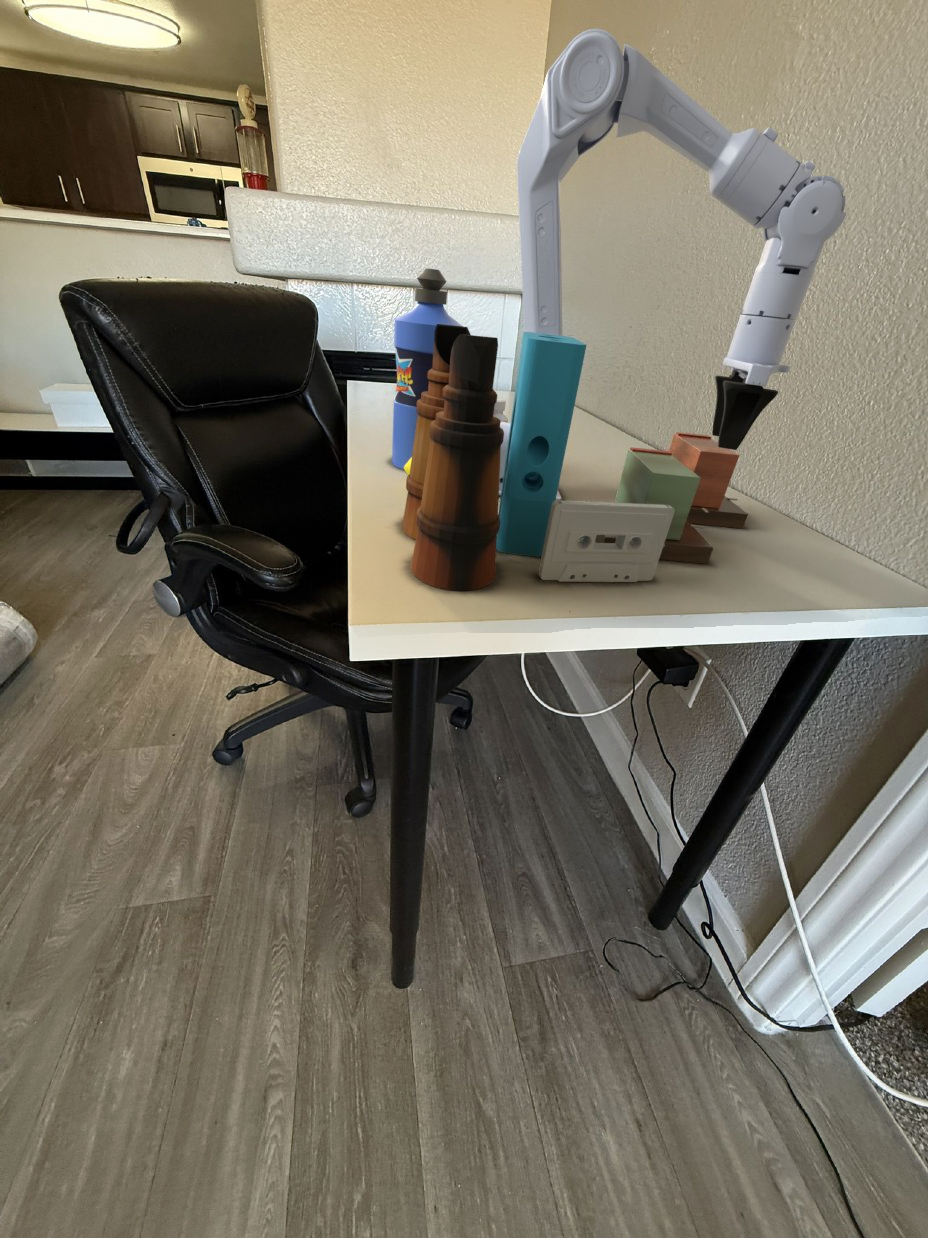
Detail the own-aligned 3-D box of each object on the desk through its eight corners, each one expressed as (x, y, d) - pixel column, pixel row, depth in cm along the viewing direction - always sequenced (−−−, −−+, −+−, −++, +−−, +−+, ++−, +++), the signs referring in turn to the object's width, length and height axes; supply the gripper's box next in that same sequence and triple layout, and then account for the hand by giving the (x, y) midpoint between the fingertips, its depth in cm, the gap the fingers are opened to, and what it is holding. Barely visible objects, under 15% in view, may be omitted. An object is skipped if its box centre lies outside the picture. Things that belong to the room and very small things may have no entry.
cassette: (541, 582, 50) (556, 505, 46) (535, 573, 51) (549, 498, 47) (655, 583, 52) (679, 510, 48) (646, 574, 53) (669, 502, 49)
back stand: (754, 532, 68) (761, 516, 67) (648, 521, 67) (653, 506, 66) (712, 497, 80) (717, 483, 79) (621, 488, 80) (625, 473, 78)
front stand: (721, 569, 57) (728, 551, 55) (593, 557, 56) (597, 538, 55) (677, 521, 69) (682, 506, 67) (571, 511, 68) (575, 495, 67)
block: (544, 564, 53) (588, 345, 43) (495, 558, 53) (527, 338, 43) (537, 522, 63) (571, 337, 53) (497, 517, 63) (523, 331, 53)
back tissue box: (719, 508, 69) (740, 453, 65) (682, 504, 68) (701, 448, 65) (692, 485, 77) (709, 435, 73) (659, 481, 77) (674, 431, 73)
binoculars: (505, 590, 47) (544, 345, 37) (415, 591, 46) (430, 333, 35) (467, 516, 63) (486, 327, 52) (398, 514, 61) (404, 318, 50)
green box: (679, 540, 57) (701, 475, 53) (635, 536, 57) (654, 470, 53) (652, 509, 66) (670, 450, 62) (613, 505, 65) (628, 446, 62)
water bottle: (404, 474, 74) (412, 264, 61) (382, 456, 81) (385, 264, 68) (462, 471, 78) (481, 274, 65) (436, 454, 85) (449, 272, 72)
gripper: (824, 322, 51) (768, 460, 58) (792, 321, 63) (748, 436, 70) (748, 313, 53) (702, 449, 60) (731, 314, 65) (694, 427, 72)
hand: (723, 441), depth 65 cm, fingers open, 7 cm apart
